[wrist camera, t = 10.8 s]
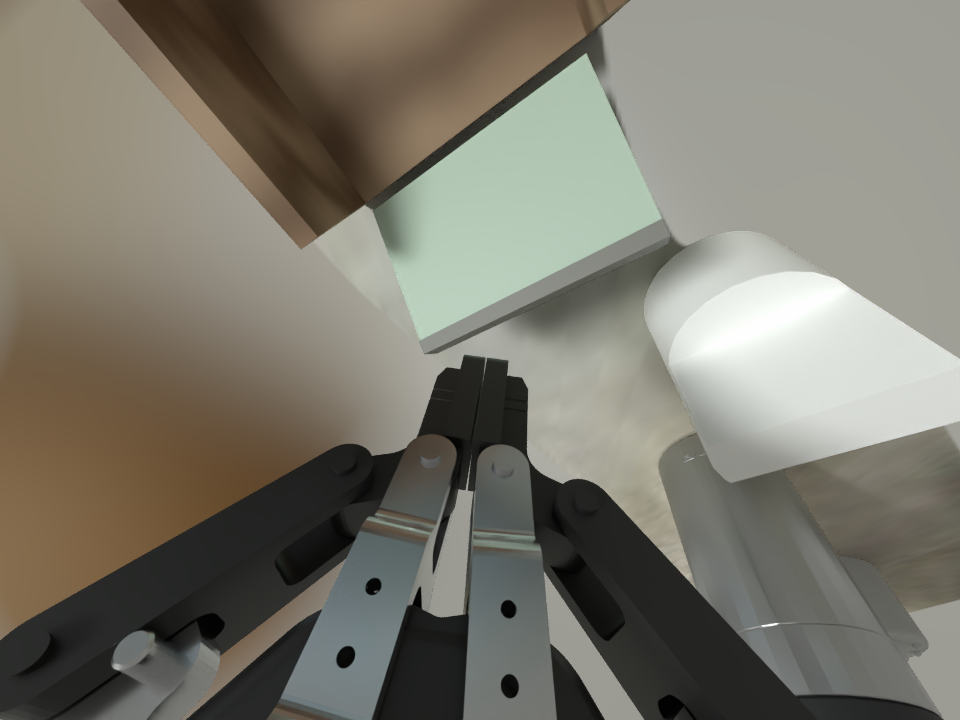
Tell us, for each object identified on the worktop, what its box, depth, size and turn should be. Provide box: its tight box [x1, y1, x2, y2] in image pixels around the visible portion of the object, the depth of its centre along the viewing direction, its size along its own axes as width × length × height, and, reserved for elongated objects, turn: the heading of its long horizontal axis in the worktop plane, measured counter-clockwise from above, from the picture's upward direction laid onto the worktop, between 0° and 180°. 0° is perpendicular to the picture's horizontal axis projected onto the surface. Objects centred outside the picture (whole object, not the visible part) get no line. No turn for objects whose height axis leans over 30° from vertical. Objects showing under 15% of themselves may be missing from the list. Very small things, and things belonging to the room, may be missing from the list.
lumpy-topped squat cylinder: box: [839, 556, 928, 662], centre depth 40 cm, size 10×13×9 cm
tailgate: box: [373, 54, 671, 354], centre depth 19 cm, size 1×13×9 cm
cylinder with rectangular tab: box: [644, 231, 960, 483], centre depth 20 cm, size 9×9×12 cm
